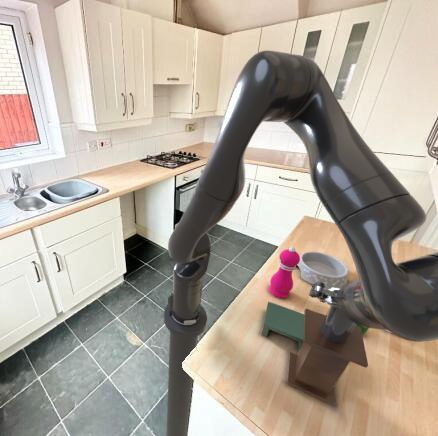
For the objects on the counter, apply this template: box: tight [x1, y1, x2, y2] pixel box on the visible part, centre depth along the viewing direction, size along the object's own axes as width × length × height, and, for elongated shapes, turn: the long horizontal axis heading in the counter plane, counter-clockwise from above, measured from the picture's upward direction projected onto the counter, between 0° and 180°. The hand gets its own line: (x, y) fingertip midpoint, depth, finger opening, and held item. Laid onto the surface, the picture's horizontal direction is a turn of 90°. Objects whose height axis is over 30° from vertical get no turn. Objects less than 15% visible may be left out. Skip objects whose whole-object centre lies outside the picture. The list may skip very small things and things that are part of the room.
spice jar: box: [320, 303, 356, 344], centre depth 52 cm, size 5×5×11 cm
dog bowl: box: [296, 250, 349, 289], centre depth 96 cm, size 17×18×5 cm
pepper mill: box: [269, 246, 300, 299], centre depth 84 cm, size 7×7×20 cm
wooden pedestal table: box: [286, 308, 369, 407], centre depth 58 cm, size 11×10×18 cm
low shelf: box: [260, 301, 304, 351], centre depth 74 cm, size 12×10×5 cm
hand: (346, 306), depth 51 cm, fingers open, 8 cm apart
